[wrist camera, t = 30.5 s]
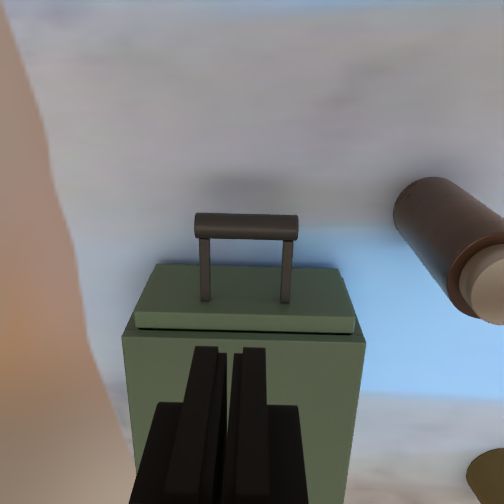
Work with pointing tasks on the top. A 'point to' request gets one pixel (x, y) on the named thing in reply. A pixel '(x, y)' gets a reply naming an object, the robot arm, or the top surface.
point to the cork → (488, 477)
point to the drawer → (245, 287)
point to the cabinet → (277, 382)
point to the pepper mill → (456, 244)
